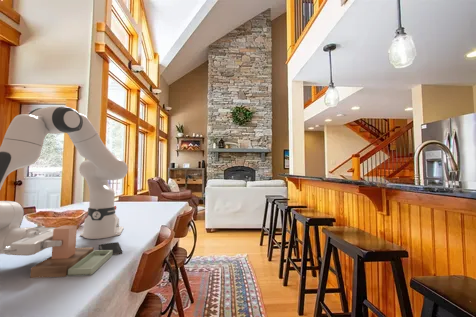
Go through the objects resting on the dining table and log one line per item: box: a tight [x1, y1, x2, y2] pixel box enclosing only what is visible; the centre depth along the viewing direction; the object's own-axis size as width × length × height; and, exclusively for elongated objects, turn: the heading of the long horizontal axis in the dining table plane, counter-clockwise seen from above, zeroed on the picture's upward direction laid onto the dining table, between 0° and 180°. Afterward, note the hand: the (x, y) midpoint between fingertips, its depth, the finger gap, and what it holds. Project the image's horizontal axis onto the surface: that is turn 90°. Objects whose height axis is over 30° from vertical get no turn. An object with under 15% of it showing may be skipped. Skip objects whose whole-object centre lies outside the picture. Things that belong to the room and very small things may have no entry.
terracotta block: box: [51, 225, 78, 259], centre depth 84 cm, size 5×5×10 cm
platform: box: [29, 247, 94, 279], centre depth 84 cm, size 19×10×3 cm, turn 8°
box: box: [67, 249, 113, 277], centre depth 85 cm, size 18×7×2 cm, turn 8°
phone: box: [98, 241, 123, 256], centre depth 100 cm, size 8×1×15 cm
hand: (67, 240), depth 85 cm, fingers closed on terracotta block, 5 cm apart
